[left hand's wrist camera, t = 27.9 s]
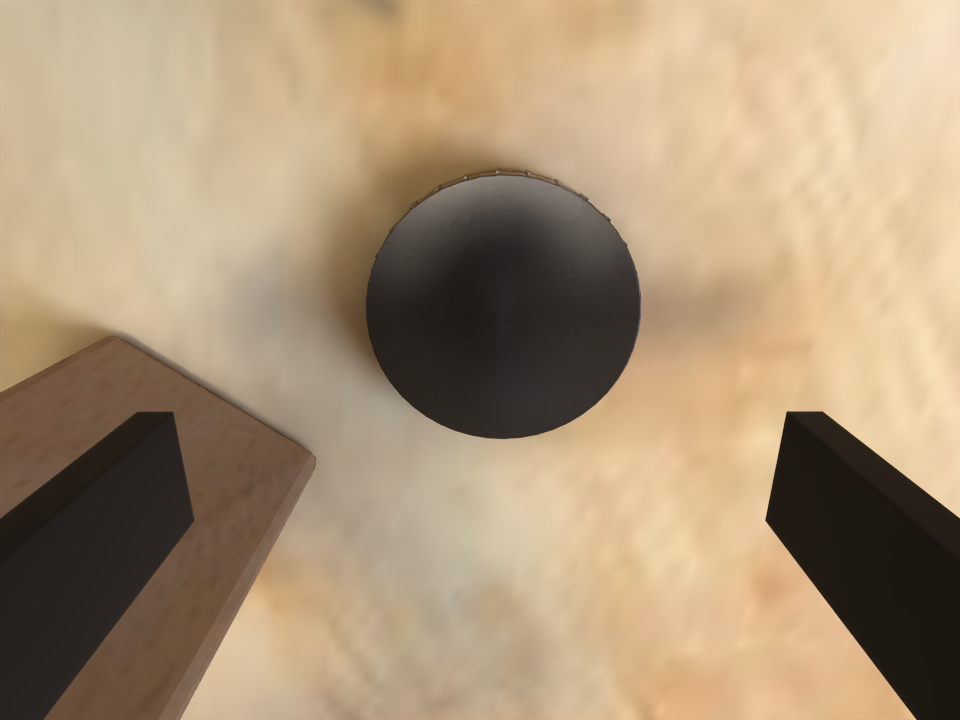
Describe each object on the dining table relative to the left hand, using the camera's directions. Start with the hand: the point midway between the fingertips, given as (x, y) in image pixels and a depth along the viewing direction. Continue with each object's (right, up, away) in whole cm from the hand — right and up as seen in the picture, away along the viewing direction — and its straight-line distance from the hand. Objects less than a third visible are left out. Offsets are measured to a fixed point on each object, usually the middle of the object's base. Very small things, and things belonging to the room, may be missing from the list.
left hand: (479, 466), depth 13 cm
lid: (+1, +4, +9) cm, 10 cm away
